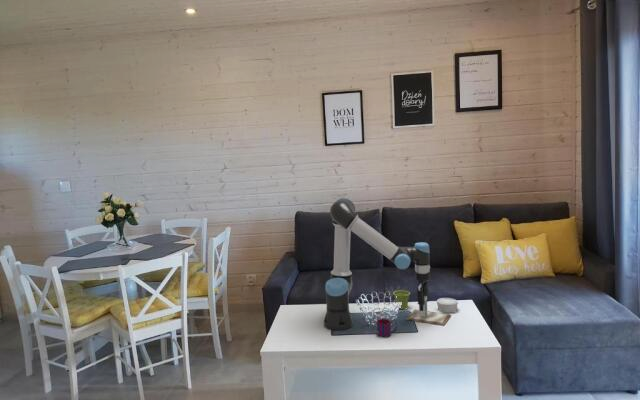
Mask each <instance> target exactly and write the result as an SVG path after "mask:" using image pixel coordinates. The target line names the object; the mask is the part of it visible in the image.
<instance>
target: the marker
mask: <svg viewBox="0 0 640 400" xmlns="http://www.w3.org/2000/svg"><path fill="white" fill-rule="evenodd" d="M427 300H428V299H427V296H424V304H425V316H426V314H427V311H428V302H427ZM419 314H420V312H419Z"/></svg>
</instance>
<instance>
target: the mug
mask: <svg viewBox="0 0 640 400" xmlns="http://www.w3.org/2000/svg"><path fill="white" fill-rule="evenodd" d="M394 323H395V325H396V327H395V328H394V329H392V324H394ZM397 329H398V322H397V321H391V320H390V319H388V318H379V319H378V320H376V335H377V336H378V337H379V338H389V337H390V336H392V333H394V332H396V331H397Z"/></svg>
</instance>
